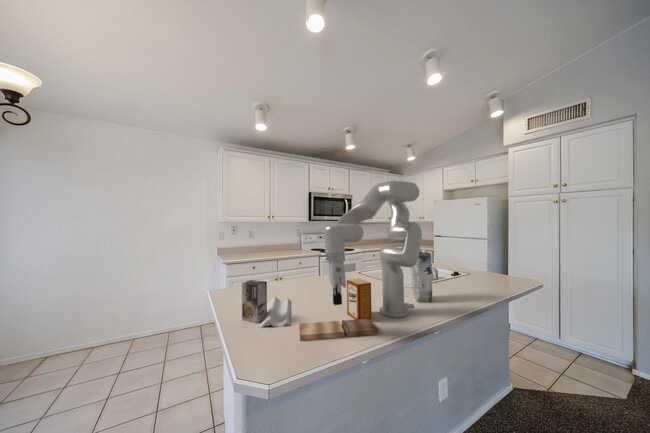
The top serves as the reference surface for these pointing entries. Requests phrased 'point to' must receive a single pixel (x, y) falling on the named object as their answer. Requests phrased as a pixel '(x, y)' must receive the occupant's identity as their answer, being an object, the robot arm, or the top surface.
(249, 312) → the coffee box
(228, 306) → the top surface
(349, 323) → the walnut board
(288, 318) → the crown molding
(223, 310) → the top surface
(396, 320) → the top surface
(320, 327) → the oak plank
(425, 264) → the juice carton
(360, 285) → the baking soda box
